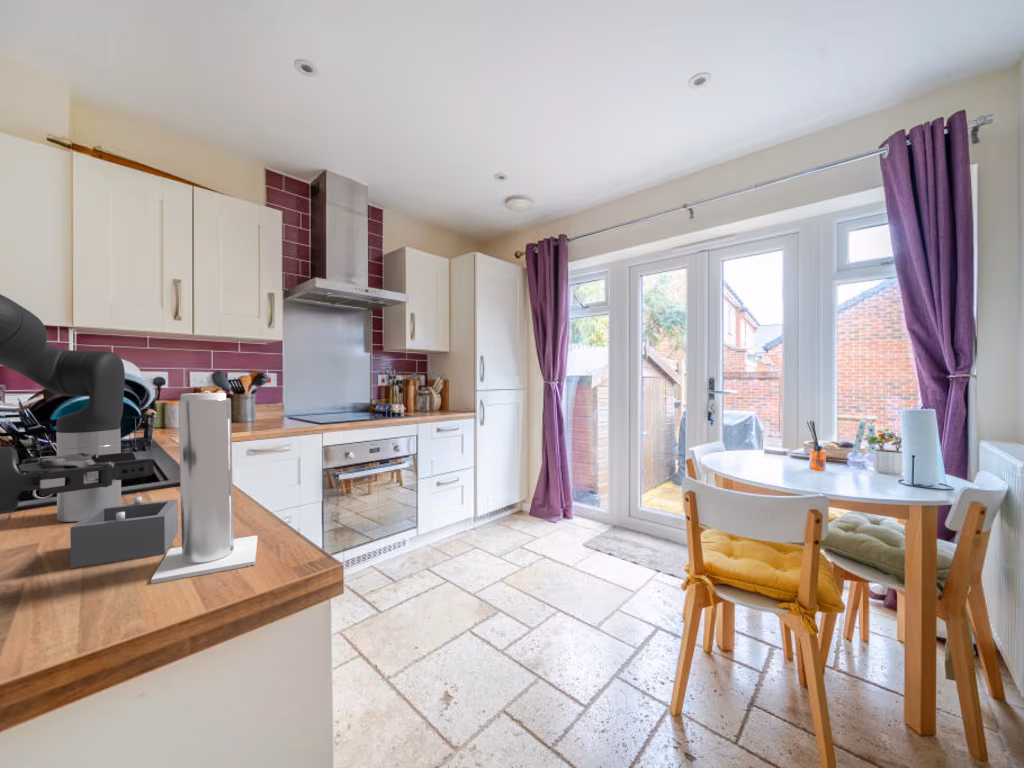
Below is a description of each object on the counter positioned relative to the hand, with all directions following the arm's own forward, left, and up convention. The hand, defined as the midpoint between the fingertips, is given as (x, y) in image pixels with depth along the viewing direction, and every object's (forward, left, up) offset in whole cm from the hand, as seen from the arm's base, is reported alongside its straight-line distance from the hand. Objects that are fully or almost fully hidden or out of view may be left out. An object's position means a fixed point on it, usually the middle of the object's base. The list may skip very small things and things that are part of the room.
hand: (142, 462), depth 59 cm
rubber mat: (-3, +7, -16) cm, 18 cm away
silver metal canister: (-3, +7, -16) cm, 17 cm away
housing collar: (-14, -5, -16) cm, 22 cm away
